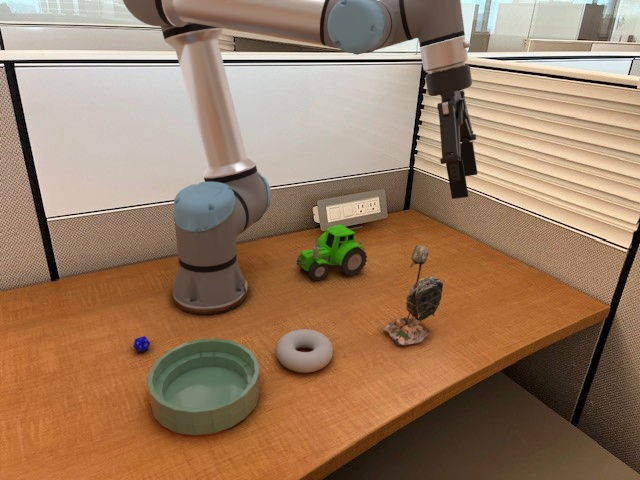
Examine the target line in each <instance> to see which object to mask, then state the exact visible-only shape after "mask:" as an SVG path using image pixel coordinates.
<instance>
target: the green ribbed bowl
mask: <svg viewBox="0 0 640 480" xmlns="http://www.w3.org/2000/svg"><path fill="white" fill-rule="evenodd" d="M260 383H261V382H260V365H259V360H258V359H257V357H256V356H255V354H254V352H253V351H252V350H250V349H249V348H248V347H246V346H245V345H244V344H241V343H238V342H235V341H233V340H230V339H223V338H215V337H214V338H200V339H195V340H192V341H187V342H184V343H181V344H180V345H177V346H175V347H172V348H171V349H169V350H166V352H165V353H163V354H162V355H161V356H160V357H159V358H157V359H156V360H155V362H154V364H153V365H152V366H151V368H150V370H149V371H148V376H147V381H146V385H147V392H148V398H149V399H148V400H149V405H150V409H151V413H152V416H153V418H155V420H156V421H157V422H158V423H159V424H160V425H161V426H162V427H163V428H166V429H168V430H169V431H172V432H174V433H175V434H182V435H188V436H189V435H190V436H202V435H213V434H216V433H219V432H222V431H225V430H227V429H228V430H229V429H231V428H233V427H235V426H236V425H238V424H239V423H240V422H242V421H243V420H245V419H246V418H247V417H248V416H249V415H250V414H251V412H252V411H254V409H255V408H256V406H257V403H258V401H259V397H260V395H261V390H260V389H261V388H260Z"/></svg>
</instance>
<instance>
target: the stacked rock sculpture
mask: <svg viewBox="0 0 640 480" xmlns="http://www.w3.org/2000/svg"><path fill="white" fill-rule="evenodd" d="M429 254H430V250H429V248H428V246H424V245H422V244H417V245H416V246H415V247H414V249H413V251H412V254H411V258H410V259H411V261H412V262H411V263H410V265H409V268H410V269H412V268H413V267H414V265H419V266H418V272H417V277H416V281H415V282H414V284H413V285H412V286H411V288H410V290H409V292H408V293H407V296H406V302H405V303H406V307H405V308H406V309H405V310H407V312H408V315H407V317H400V318H397V319H394V321H392V322H389V323H388V325H386V326H384V328H382V329H383V330H382V331H383V332H385V333H388V335H389V337H391V339H392V341H394V343H395V344H396V345H397V346H409V345H412V344H420V343H422V342H423V341H424V340H425V339H426V337H427V336H429V334H430V333H431V332H432V331H430V329H425V328H424V327H423V326H421V325H420V323H421V322H422V321H424V320H426V319H428V318H430V316H433V317H435V316H436V315H435V313H436V311H437V310H438V307H439V306H440V303H441V301H442V297H443V288H444V284H443V282H446V280H445V279H444V280H443V282H442V280H441V279H440V278H437V277H435V276H432V275H430V276H427V277H423V278H420V275H421V271H422V267H423V266H422V265H425V264H426V262H427V260H428V257H429ZM410 316H411V317H412V318H409V317H410ZM388 335H387V336H388Z"/></svg>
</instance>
